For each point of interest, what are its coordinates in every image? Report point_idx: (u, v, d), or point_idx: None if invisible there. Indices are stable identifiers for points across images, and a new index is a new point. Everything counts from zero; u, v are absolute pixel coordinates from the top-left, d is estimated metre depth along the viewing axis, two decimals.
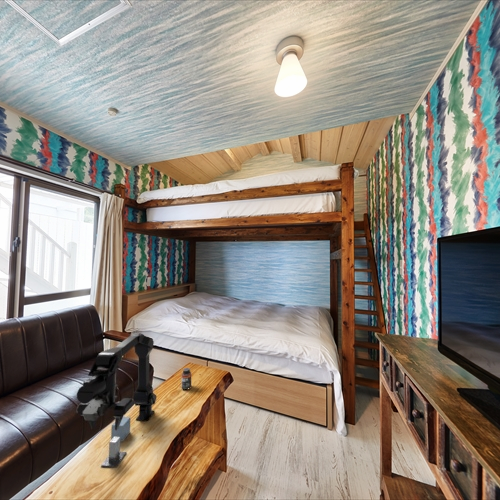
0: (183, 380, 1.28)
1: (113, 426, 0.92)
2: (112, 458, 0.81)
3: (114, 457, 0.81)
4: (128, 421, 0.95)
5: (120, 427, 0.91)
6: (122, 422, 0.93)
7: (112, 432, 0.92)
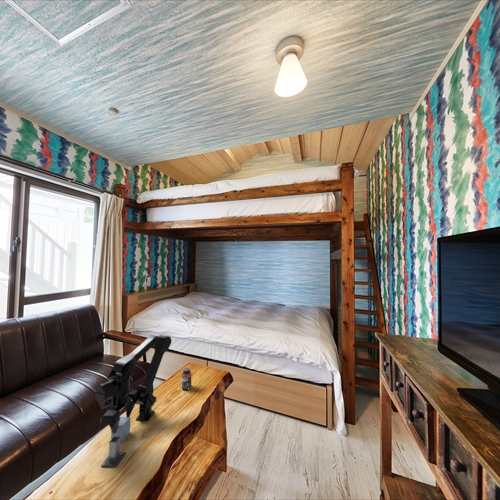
0: (183, 380, 1.28)
1: None
2: (112, 458, 0.81)
3: (114, 457, 0.81)
4: (128, 421, 0.95)
5: (120, 427, 0.91)
6: (122, 422, 0.93)
7: None
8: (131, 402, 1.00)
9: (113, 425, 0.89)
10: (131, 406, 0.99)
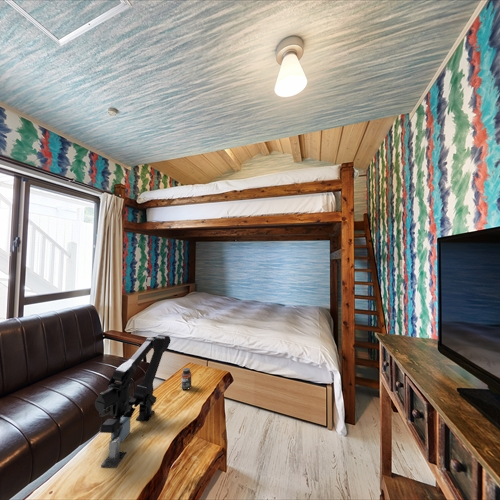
0: (183, 380, 1.28)
1: None
2: (112, 458, 0.81)
3: (114, 457, 0.81)
4: (128, 421, 0.95)
5: None
6: (122, 422, 0.93)
7: None
8: (128, 413, 0.97)
9: (115, 430, 0.90)
10: None
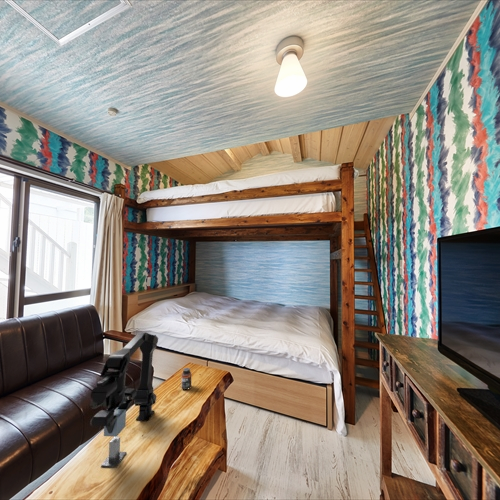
0: (183, 380, 1.28)
1: None
2: (112, 458, 0.81)
3: (114, 457, 0.81)
4: (123, 414, 0.85)
5: None
6: (116, 415, 0.83)
7: (105, 426, 0.81)
8: (124, 405, 0.87)
9: (109, 424, 0.80)
10: None
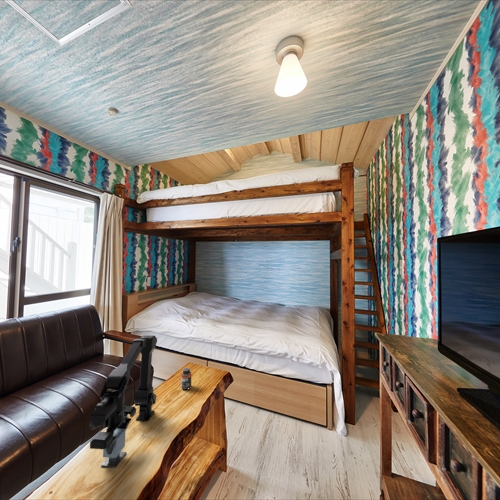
0: (183, 380, 1.28)
1: None
2: (112, 458, 0.81)
3: None
4: (123, 434, 0.84)
5: None
6: (116, 435, 0.82)
7: None
8: (123, 424, 0.87)
9: (108, 445, 0.79)
10: None
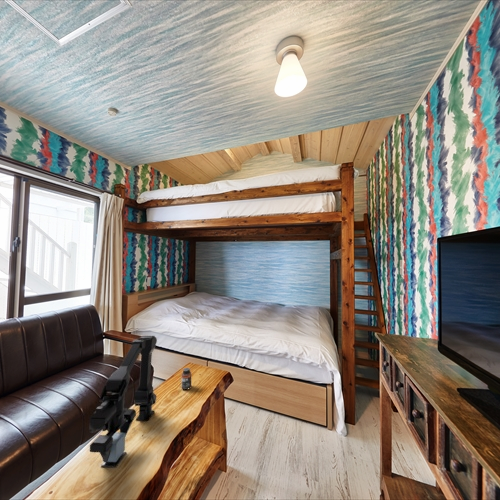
0: (183, 380, 1.28)
1: None
2: None
3: None
4: (123, 438, 0.84)
5: (113, 445, 0.80)
6: (116, 439, 0.82)
7: None
8: (126, 423, 0.88)
9: (104, 453, 0.77)
10: (126, 428, 0.88)
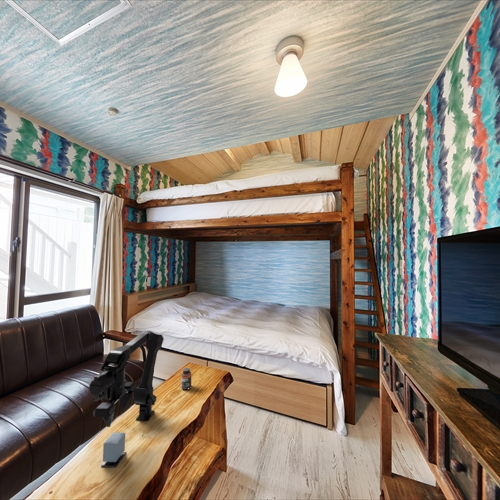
0: (183, 380, 1.28)
1: (105, 444, 0.81)
2: None
3: None
4: (123, 438, 0.84)
5: (113, 445, 0.80)
6: (116, 439, 0.82)
7: (104, 451, 0.80)
8: (126, 394, 0.94)
9: (107, 418, 0.84)
10: (126, 398, 0.94)
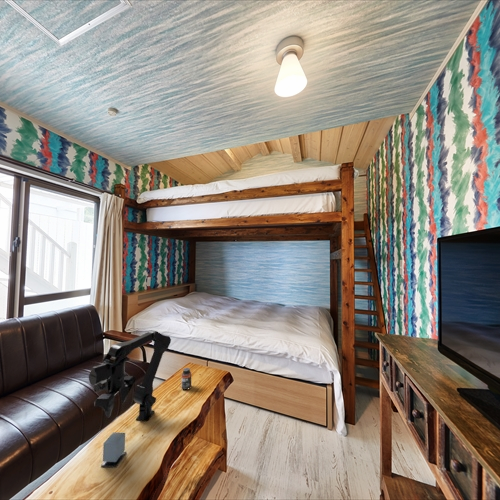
0: (183, 380, 1.28)
1: (105, 444, 0.81)
2: None
3: None
4: (123, 438, 0.84)
5: (113, 445, 0.80)
6: (116, 439, 0.82)
7: (104, 451, 0.80)
8: (126, 387, 0.99)
9: (107, 409, 0.88)
10: (126, 391, 0.99)
